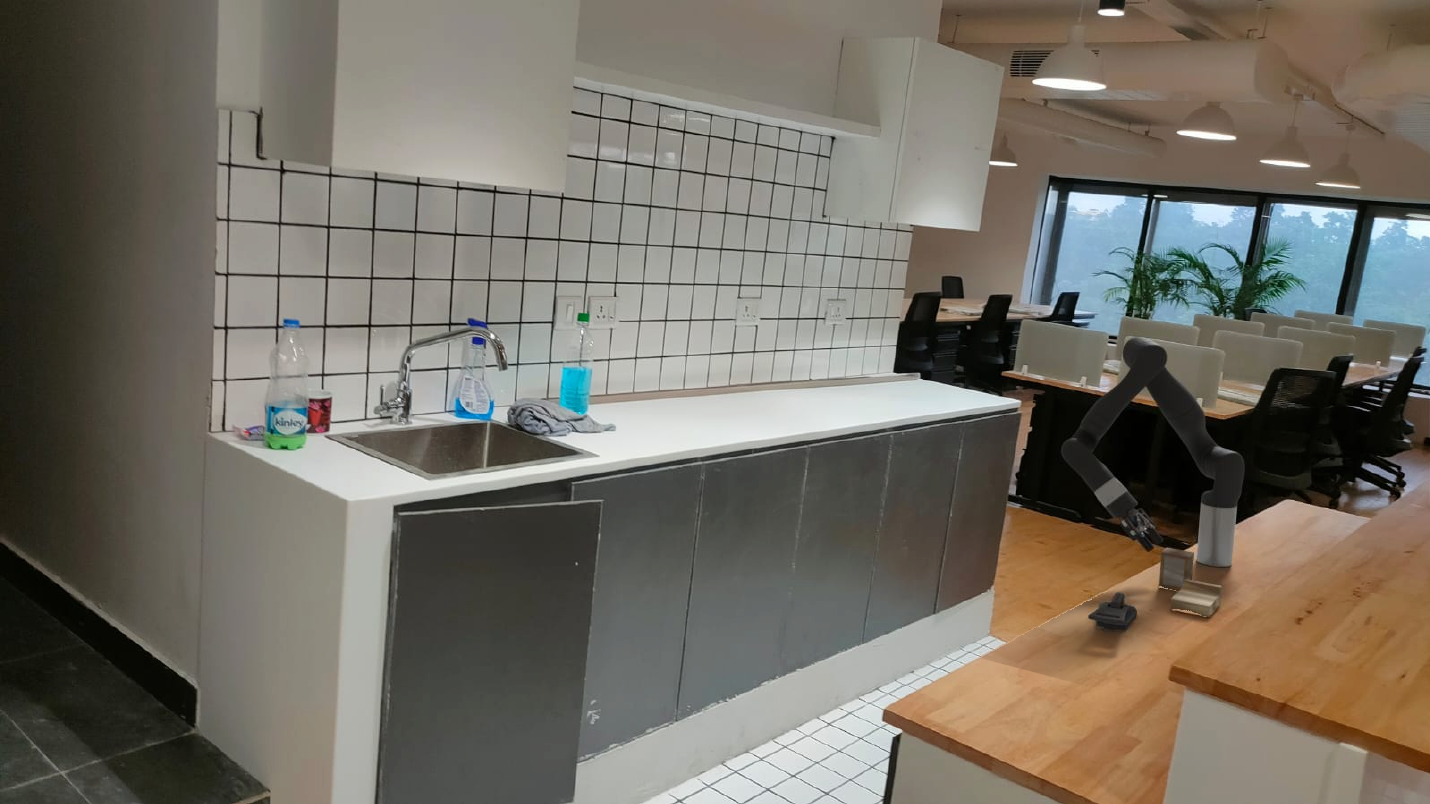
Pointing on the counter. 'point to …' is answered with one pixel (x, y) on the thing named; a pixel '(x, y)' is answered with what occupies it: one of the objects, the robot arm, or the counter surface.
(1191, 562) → the frame
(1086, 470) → the robot arm
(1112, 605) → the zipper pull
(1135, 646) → the counter surface
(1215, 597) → the ledge
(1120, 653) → the counter surface
